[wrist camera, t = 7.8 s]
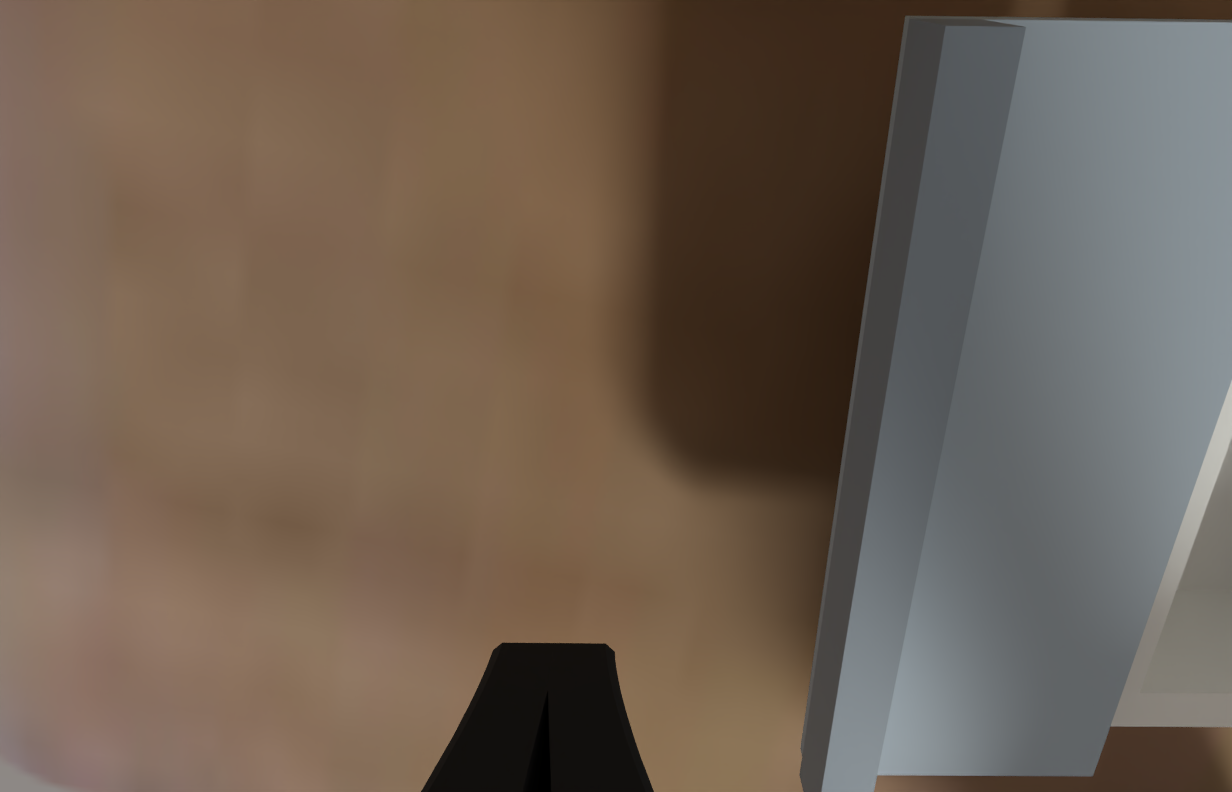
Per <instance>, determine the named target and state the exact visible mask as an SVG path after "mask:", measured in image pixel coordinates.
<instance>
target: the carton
mask: <svg viewBox="0 0 1232 792" xmlns="http://www.w3.org/2000/svg"><path fill="white" fill-rule="evenodd" d="M1111 726H1123V727H1232V381H1231V384H1230V386H1229V389H1228V392H1227V395H1226V398H1225V401H1224V404H1223V406H1222V409H1221V412H1220V415H1219V418H1218V421H1217V424H1216V426H1215V429H1214V432H1213V435H1212V438H1211V441H1210V444H1209V446H1208V449H1207V452H1206V455H1205V458H1204V461H1203V464H1202V466H1201V469H1200V472H1199V475H1198V478H1197V481H1196V484H1195V486H1194V489H1193V492H1192V495H1191V498H1190V501H1189V504H1188V506H1187V509H1186V512H1185V515H1184V518H1183V521H1182V523H1181V526H1180V529H1179V532H1178V535H1177V538H1176V541H1175V543H1174V546H1173V549H1172V552H1171V555H1170V558H1169V561H1168V563H1167V566H1166V569H1165V572H1164V575H1163V578H1162V581H1161V583H1160V586H1159V589H1158V592H1157V595H1156V598H1155V601H1154V603H1153V606H1152V609H1151V612H1150V615H1149V618H1148V621H1147V623H1146V626H1145V629H1144V632H1143V635H1142V638H1141V641H1140V643H1139V646H1138V649H1137V652H1136V655H1135V658H1134V660H1133V663H1132V666H1131V669H1130V672H1129V675H1128V678H1127V680H1126V683H1125V686H1124V689H1123V692H1122V695H1121V698H1120V700H1119V703H1118V706H1117V709H1116V712H1115V715H1114V718H1113V720H1112V723H1111Z"/></svg>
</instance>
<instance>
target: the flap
mask: <svg viewBox="0 0 1232 792" xmlns="http://www.w3.org/2000/svg"><path fill="white" fill-rule="evenodd" d="M1231 381H1232V20H1210V19H1131V18H1052V17H973V16H905V21H904V28H903V35H902V42H901V49H900V56H899V63H898V70H897V77H896V84H895V91H894V98H893V105H892V112H891V119H890V126H889V133H888V140H887V147H886V154H885V161H884V168H883V175H882V182H881V189H880V196H879V203H878V210H877V217H876V224H875V231H874V238H873V245H872V252H871V259H870V266H869V273H868V280H867V287H866V294H865V301H864V308H863V315H862V322H861V329H860V336H859V343H858V350H857V357H856V364H855V371H854V378H853V385H852V392H851V399H850V406H849V413H848V420H847V427H846V434H845V441H844V448H843V455H842V462H841V469H840V476H839V483H838V490H837V497H836V504H835V511H834V518H833V525H832V532H831V539H830V546H829V553H828V560H827V567H826V574H825V581H824V588H823V595H822V602H821V609H820V616H819V623H818V630H817V637H816V644H815V651H814V658H813V665H812V672H811V679H810V686H809V693H808V700H807V706H806V713H805V720H804V727H803V734H802V741H801V748H800V749H801V753H802V762H801V769H800V778H801V783H802V787H803V791H804V792H874V788H875V783H876V778H877V775H933V776H1093V775H1094V772H1095V769H1096V766H1097V763H1098V760H1099V758H1100V755H1101V752H1102V749H1103V746H1104V743H1105V740H1106V738H1107V735H1108V732H1109V729H1110V726H1111V723H1112V720H1113V718H1114V715H1115V712H1116V709H1117V706H1118V703H1119V700H1120V698H1121V695H1122V692H1123V689H1124V686H1125V683H1126V680H1127V678H1128V675H1129V672H1130V669H1131V666H1132V663H1133V660H1134V658H1135V655H1136V652H1137V649H1138V646H1139V643H1140V641H1141V638H1142V635H1143V632H1144V629H1145V626H1146V623H1147V621H1148V618H1149V615H1150V612H1151V609H1152V606H1153V603H1154V601H1155V598H1156V595H1157V592H1158V589H1159V586H1160V583H1161V581H1162V578H1163V575H1164V572H1165V569H1166V566H1167V563H1168V561H1169V558H1170V555H1171V552H1172V549H1173V546H1174V543H1175V541H1176V538H1177V535H1178V532H1179V529H1180V526H1181V523H1182V521H1183V518H1184V515H1185V512H1186V509H1187V506H1188V504H1189V501H1190V498H1191V495H1192V492H1193V489H1194V486H1195V484H1196V481H1197V478H1198V475H1199V472H1200V469H1201V466H1202V464H1203V461H1204V458H1205V455H1206V452H1207V449H1208V446H1209V444H1210V441H1211V438H1212V435H1213V432H1214V429H1215V426H1216V424H1217V421H1218V418H1219V415H1220V412H1221V409H1222V406H1223V404H1224V401H1225V398H1226V395H1227V392H1228V389H1229V386H1230V384H1231Z"/></svg>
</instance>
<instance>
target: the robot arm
mask: <svg viewBox="0 0 1232 792" xmlns="http://www.w3.org/2000/svg"><path fill="white" fill-rule="evenodd" d="M421 792H654V791H653V788H652V786H651V783H650V780H649V778H648V775H647V773H646V770H645V767H644V765H643V762H642V760H641V757H640V754H639V751H638V748H637V745H636V742H635V739H634V736H633V733H632V730H631V727H630V723H629V720H628V717H627V713H626V710H625V706H624V702H623V699H622V695H621V690H620V686H619V681H618V676H617V670H616V663H615V652H614V651H613V650H612V649H611V648H610V647H609V646H608V645H606V644H584V643H502V644H500V645H499V646H498V647H497V648H495V649H494V650H493V652H492V655H491V657H490V660H489V663H488V665H487V668H486V670H485V672H484V675H483V677H482V679H481V682H480V684H479V686H478V688H477V690H476V692H475V695H474V697H473V699H472V701H471V703H470V705H469V707H468V709H467V711H466V713H465V714H464V716H463V718H462V720H461V722H460V724H459V726H458V728H457V730H456V732H455V734H454V735H453V737H452V739H451V741H450V743H449V744H448V746H447V748H446V750H445V751H444V753H443V755H442V756H441V758H440V760H439V762H438V763H437V765H436V767H435V769H434V770H433V772H432V774H431V776H430V777H429V779H428V781H427V782H426V784H425V786H424V788H423V789H422V791H421Z"/></svg>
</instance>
